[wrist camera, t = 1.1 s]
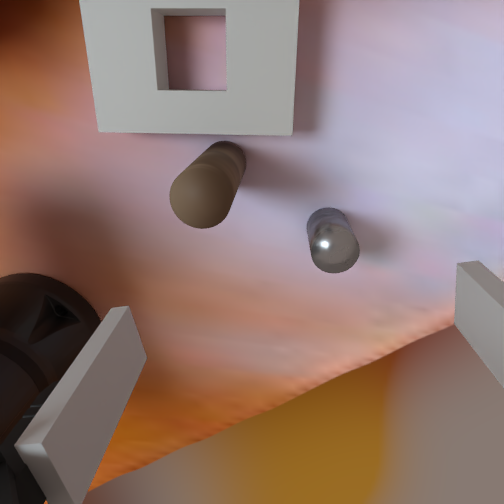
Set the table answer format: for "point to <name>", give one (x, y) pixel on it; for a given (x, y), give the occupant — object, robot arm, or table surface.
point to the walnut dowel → (208, 186)
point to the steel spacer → (332, 241)
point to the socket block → (192, 101)
